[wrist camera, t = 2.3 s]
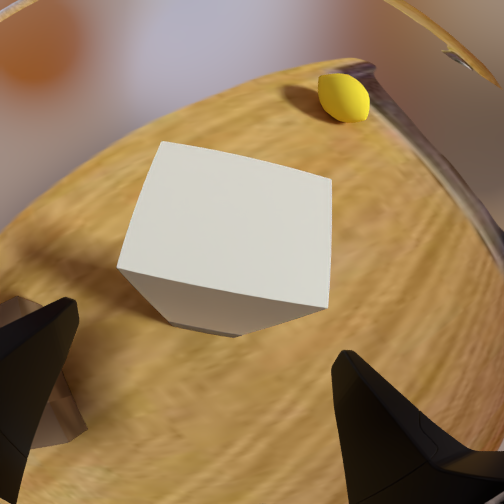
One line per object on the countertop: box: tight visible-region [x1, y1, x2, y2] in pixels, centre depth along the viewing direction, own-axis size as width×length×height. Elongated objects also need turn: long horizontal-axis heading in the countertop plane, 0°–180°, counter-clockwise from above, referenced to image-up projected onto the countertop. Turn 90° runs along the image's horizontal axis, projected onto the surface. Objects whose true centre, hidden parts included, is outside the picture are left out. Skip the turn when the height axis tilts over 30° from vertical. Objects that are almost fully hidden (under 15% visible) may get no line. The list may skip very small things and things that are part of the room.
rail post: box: [117, 141, 332, 338], centre depth 12 cm, size 3×4×14 cm
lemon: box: [318, 73, 370, 123], centre depth 26 cm, size 7×5×5 cm
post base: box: [0, 296, 88, 449], centre depth 12 cm, size 10×10×4 cm
